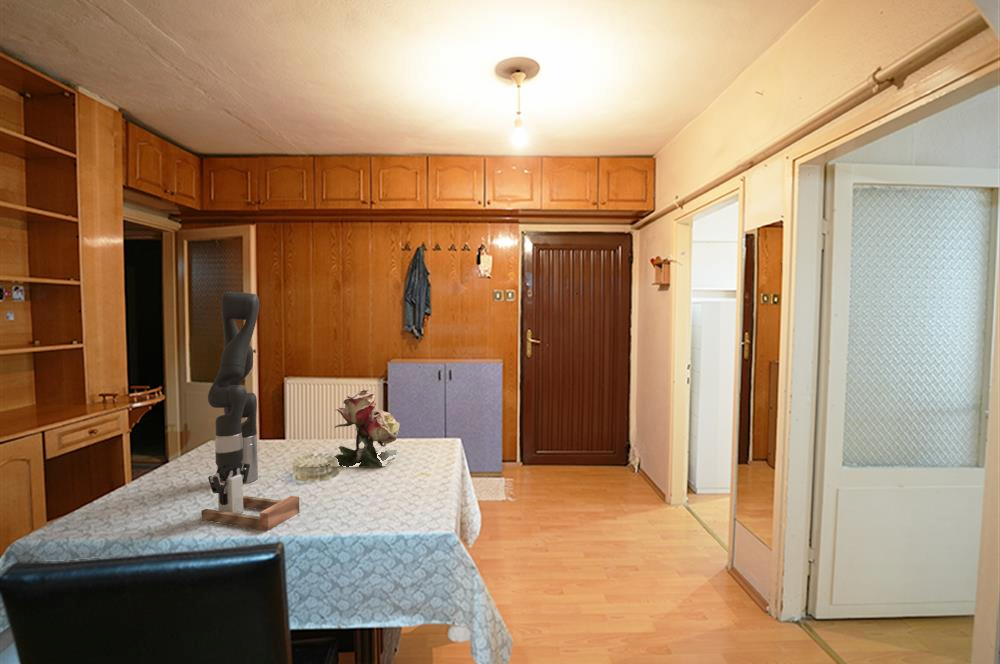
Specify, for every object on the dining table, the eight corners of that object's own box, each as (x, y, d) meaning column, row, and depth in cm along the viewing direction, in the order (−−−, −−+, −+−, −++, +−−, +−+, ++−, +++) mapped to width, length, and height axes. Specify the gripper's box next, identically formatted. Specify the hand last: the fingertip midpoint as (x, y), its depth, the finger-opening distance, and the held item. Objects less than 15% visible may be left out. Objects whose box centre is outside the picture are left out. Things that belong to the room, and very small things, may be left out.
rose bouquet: (395, 468, 189) (394, 395, 188) (324, 468, 189) (323, 395, 188) (408, 449, 215) (407, 385, 214) (345, 450, 215) (344, 386, 214)
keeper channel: (201, 520, 142) (201, 504, 141) (236, 503, 154) (236, 488, 154) (268, 530, 135) (268, 513, 134) (299, 512, 147) (299, 496, 147)
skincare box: (244, 511, 148) (243, 474, 147) (232, 517, 143) (231, 479, 143) (229, 509, 149) (228, 472, 149) (217, 514, 145) (216, 477, 145)
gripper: (238, 441, 154) (239, 492, 154) (199, 453, 140) (201, 509, 141) (256, 442, 151) (257, 494, 152) (219, 455, 138) (220, 512, 138)
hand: (230, 501), depth 146 cm, fingers closed on skincare box, 4 cm apart
